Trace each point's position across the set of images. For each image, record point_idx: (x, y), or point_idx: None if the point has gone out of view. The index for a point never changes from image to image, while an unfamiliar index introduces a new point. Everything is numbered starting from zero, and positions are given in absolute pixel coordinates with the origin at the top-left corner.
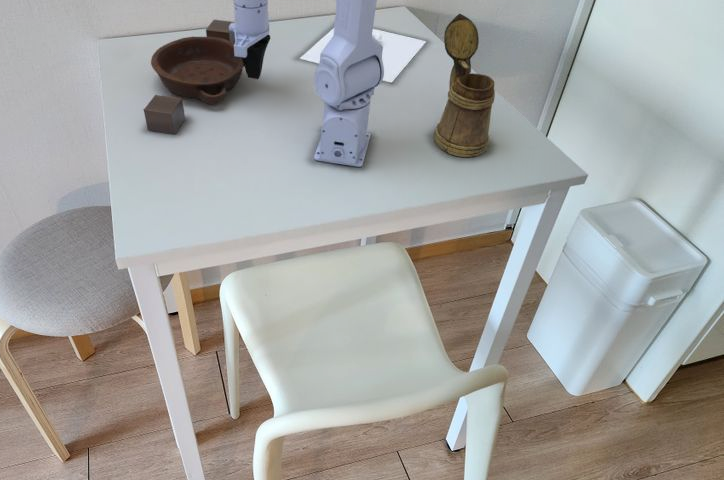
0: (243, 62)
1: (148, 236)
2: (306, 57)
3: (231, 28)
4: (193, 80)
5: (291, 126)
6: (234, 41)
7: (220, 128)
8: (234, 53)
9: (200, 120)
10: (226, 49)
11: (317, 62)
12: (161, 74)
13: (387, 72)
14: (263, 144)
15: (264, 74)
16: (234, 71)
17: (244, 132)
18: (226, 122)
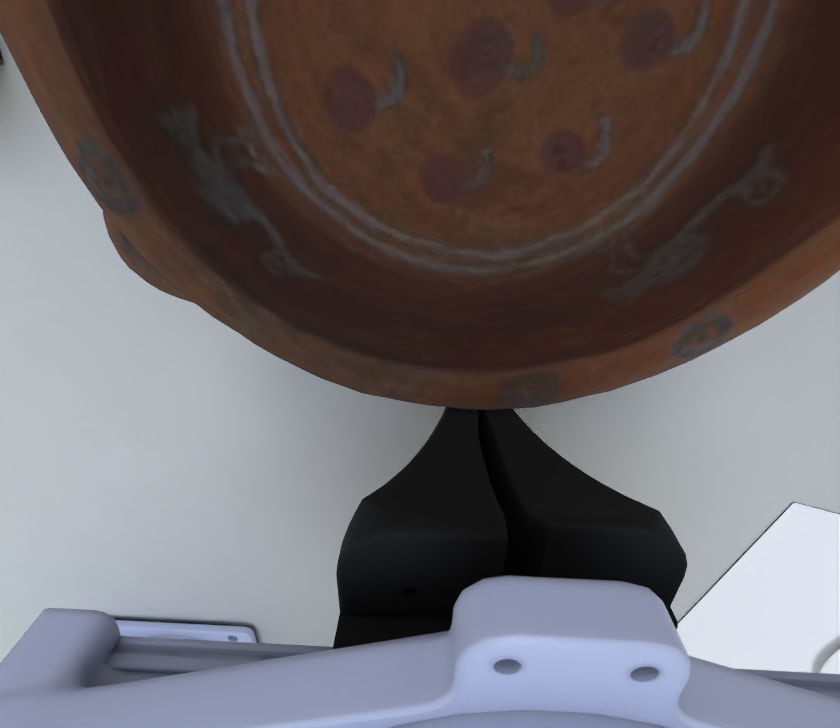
0: (432, 436)
1: None
2: (800, 525)
3: (455, 659)
4: (50, 61)
5: (225, 545)
6: (407, 530)
7: (55, 305)
8: (20, 639)
9: (54, 174)
10: (824, 160)
11: (741, 564)
12: None
13: None
14: (64, 487)
15: (628, 386)
16: (350, 371)
17: (93, 410)
18: (118, 318)
